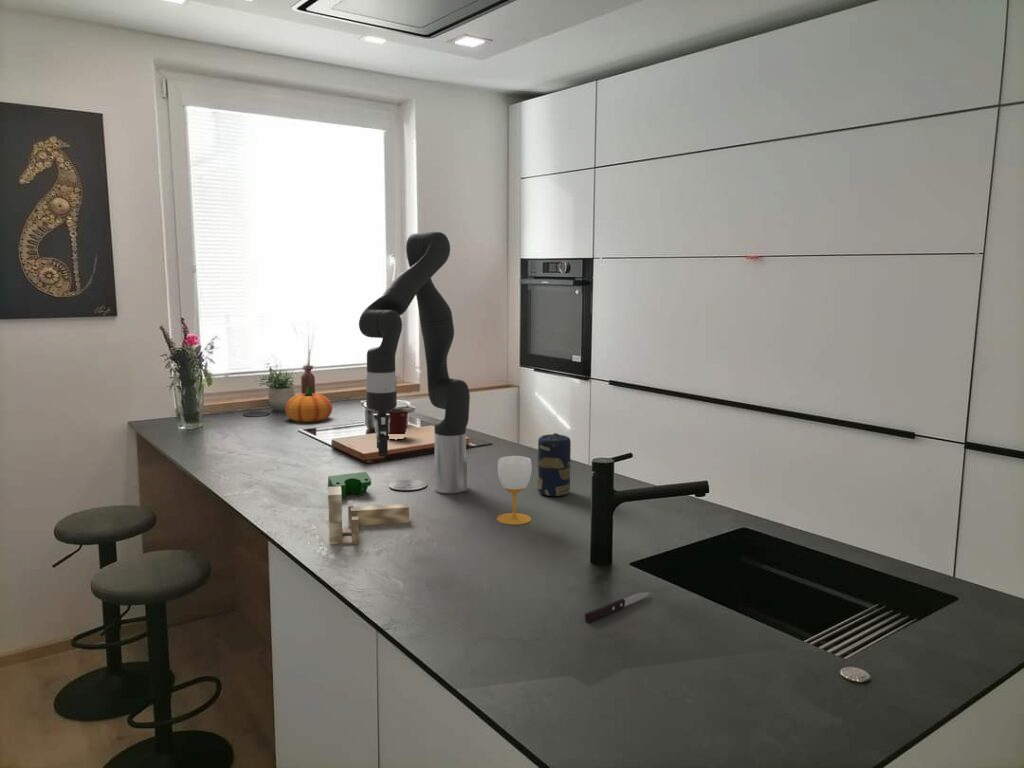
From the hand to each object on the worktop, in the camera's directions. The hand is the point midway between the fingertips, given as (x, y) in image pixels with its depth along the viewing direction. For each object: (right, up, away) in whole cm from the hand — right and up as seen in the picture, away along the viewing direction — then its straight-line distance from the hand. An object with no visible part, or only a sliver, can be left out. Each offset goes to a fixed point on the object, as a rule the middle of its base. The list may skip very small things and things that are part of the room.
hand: (382, 452), depth 187 cm
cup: (+34, -18, +6) cm, 39 cm away
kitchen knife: (+54, -26, -45) cm, 75 cm away
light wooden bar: (-1, -18, +2) cm, 18 cm away
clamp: (-14, -15, +25) cm, 32 cm away
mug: (-11, -4, +97) cm, 98 cm away
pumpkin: (-55, +1, +132) cm, 143 cm away
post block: (-7, -20, -10) cm, 23 cm away
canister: (+45, -15, +29) cm, 56 cm away
